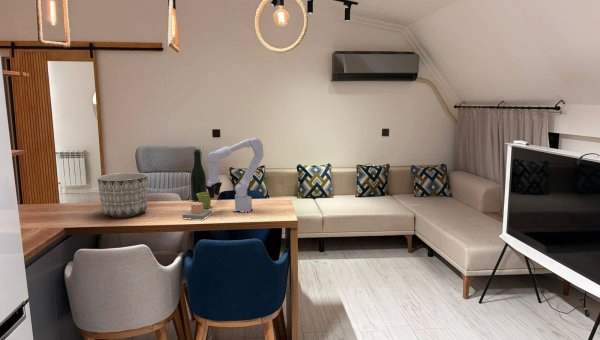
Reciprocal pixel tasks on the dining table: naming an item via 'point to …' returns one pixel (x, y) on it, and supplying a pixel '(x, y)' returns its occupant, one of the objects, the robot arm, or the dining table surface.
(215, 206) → the dining table surface
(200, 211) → the terracotta cube
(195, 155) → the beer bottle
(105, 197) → the planter
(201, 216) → the slate plinth
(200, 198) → the plant pot
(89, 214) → the dining table surface
